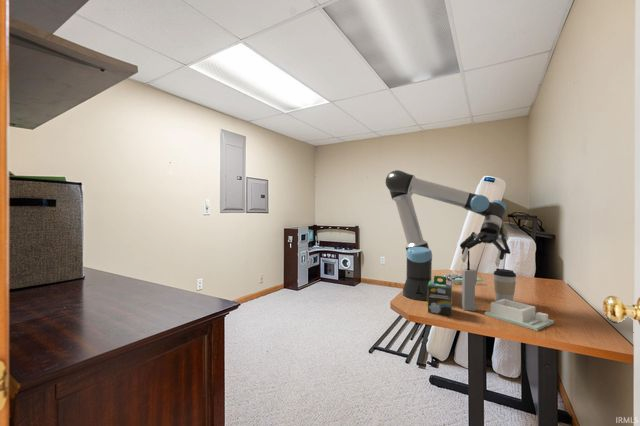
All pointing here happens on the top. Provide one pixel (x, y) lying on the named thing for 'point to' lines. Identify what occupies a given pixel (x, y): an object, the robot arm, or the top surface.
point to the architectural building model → (518, 314)
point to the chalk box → (440, 296)
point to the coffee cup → (504, 284)
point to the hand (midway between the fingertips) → (479, 262)
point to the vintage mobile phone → (469, 288)
